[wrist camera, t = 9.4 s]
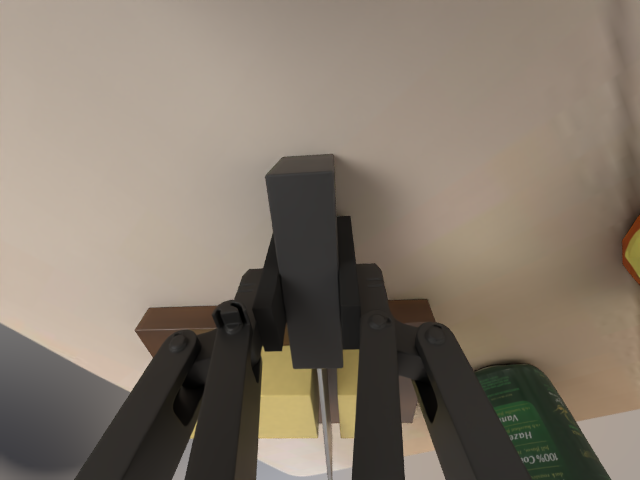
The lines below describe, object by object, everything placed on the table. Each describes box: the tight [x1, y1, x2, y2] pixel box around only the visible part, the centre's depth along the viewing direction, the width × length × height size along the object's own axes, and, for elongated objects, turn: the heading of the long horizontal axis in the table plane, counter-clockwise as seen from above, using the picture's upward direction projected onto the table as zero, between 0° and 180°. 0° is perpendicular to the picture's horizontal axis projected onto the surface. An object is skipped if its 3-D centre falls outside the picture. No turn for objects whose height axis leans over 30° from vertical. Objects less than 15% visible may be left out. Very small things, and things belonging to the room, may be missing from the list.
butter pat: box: [337, 349, 359, 438], centre depth 21 cm, size 6×2×4 cm, turn 4°
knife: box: [265, 154, 343, 480], centre depth 17 cm, size 22×3×4 cm, turn 4°
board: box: [135, 299, 435, 423], centre depth 24 cm, size 14×20×2 cm
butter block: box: [190, 345, 319, 438], centre depth 21 cm, size 6×10×4 cm, turn 94°
